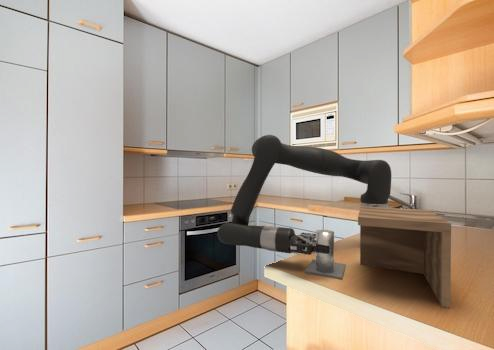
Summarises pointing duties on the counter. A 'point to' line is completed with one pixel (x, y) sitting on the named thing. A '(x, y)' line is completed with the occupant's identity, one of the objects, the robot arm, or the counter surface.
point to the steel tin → (323, 260)
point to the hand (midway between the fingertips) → (331, 245)
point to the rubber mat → (336, 274)
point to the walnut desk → (408, 244)
